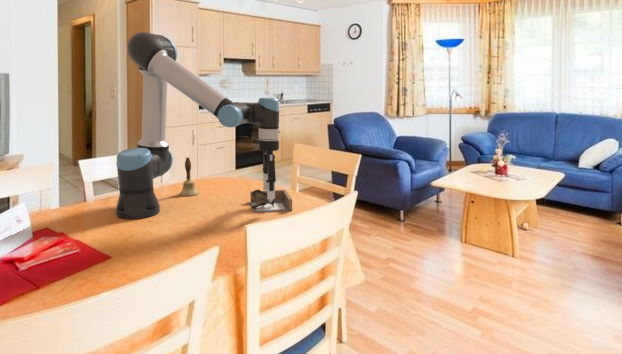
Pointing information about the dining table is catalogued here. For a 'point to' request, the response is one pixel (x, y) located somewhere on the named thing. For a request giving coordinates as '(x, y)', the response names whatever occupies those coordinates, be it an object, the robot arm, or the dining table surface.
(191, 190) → the hand bell
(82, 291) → the dining table surface
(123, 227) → the dining table surface
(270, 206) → the tray
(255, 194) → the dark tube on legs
